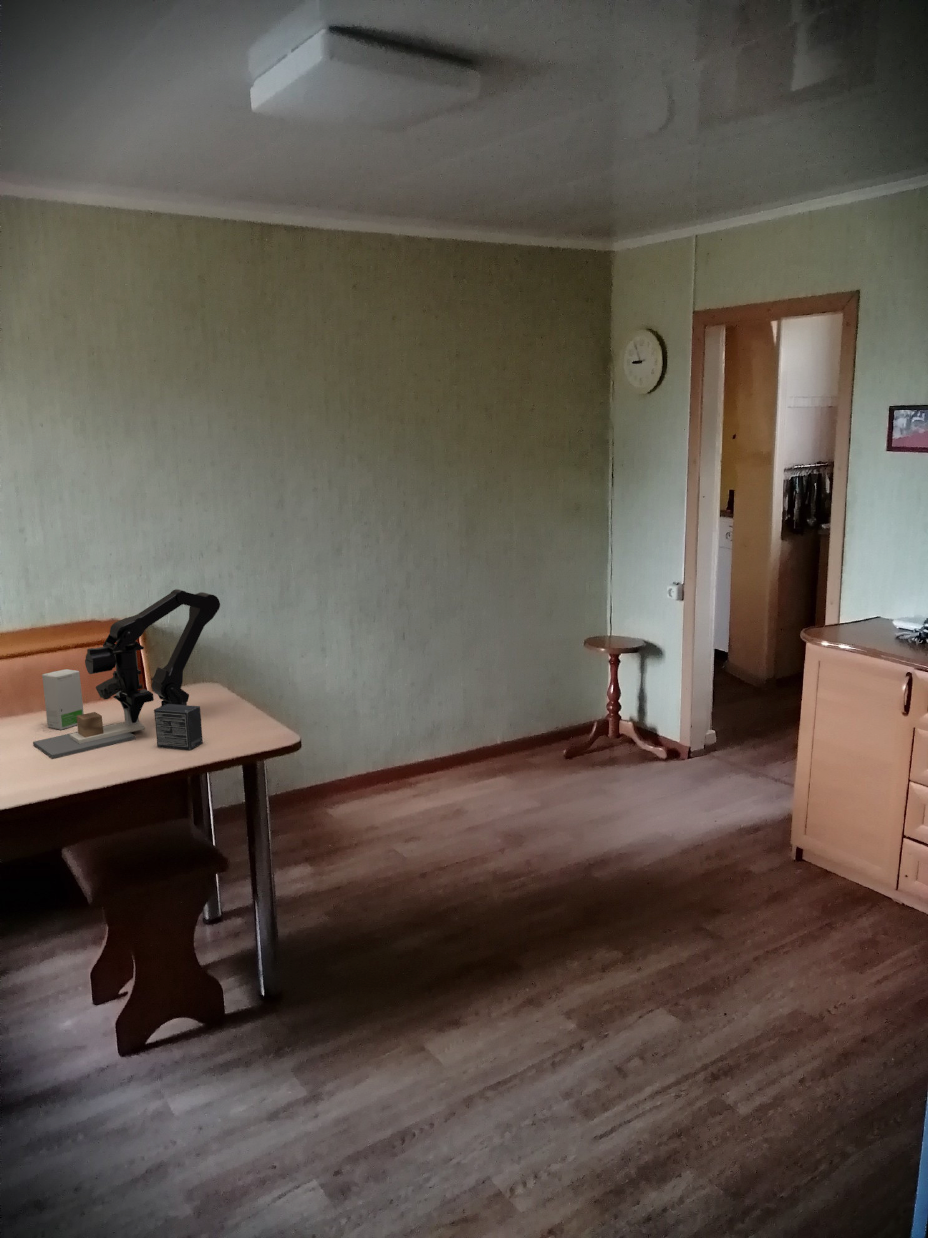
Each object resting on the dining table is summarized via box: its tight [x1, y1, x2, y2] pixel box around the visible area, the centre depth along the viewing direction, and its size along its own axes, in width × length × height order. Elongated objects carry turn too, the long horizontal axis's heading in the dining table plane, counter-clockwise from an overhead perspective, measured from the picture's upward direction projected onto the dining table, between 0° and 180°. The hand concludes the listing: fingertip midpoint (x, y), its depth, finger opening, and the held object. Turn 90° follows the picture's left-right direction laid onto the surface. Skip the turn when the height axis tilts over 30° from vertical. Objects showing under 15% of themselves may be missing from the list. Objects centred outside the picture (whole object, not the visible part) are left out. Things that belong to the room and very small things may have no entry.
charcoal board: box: [32, 723, 136, 760], centre depth 260 cm, size 22×15×1 cm
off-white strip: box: [69, 708, 145, 744], centre depth 264 cm, size 18×7×6 cm, turn 131°
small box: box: [153, 704, 204, 751], centre depth 255 cm, size 11×6×10 cm, turn 71°
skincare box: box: [41, 668, 85, 731], centre depth 275 cm, size 8×7×16 cm
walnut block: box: [76, 711, 104, 738], centre depth 261 cm, size 5×5×5 cm
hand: (132, 721), depth 269 cm, fingers closed on off-white strip, 2 cm apart
